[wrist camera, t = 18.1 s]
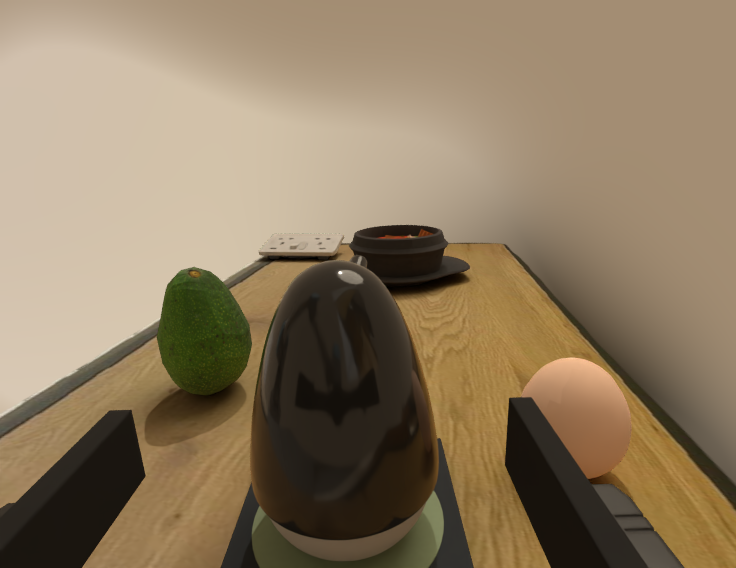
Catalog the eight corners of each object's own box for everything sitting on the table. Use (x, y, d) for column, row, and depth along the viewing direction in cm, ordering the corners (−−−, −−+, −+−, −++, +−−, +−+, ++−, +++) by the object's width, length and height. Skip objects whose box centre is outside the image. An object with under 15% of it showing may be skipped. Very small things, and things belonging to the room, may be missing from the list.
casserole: (445, 261, 88) (445, 219, 85) (489, 285, 70) (491, 234, 68) (322, 272, 83) (319, 228, 80) (336, 301, 65) (333, 246, 63)
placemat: (192, 656, 19) (190, 646, 19) (266, 448, 32) (265, 441, 32) (492, 649, 19) (492, 639, 18) (440, 443, 32) (440, 436, 32)
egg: (645, 479, 28) (664, 368, 26) (578, 523, 25) (593, 400, 23) (557, 427, 33) (566, 332, 31) (493, 457, 30) (499, 354, 28)
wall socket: (346, 243, 103) (344, 227, 101) (342, 268, 89) (340, 249, 88) (269, 250, 104) (266, 234, 102) (255, 275, 90) (251, 257, 88)
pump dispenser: (442, 464, 29) (445, 241, 25) (430, 620, 19) (433, 296, 15) (299, 448, 31) (279, 240, 27) (224, 581, 21) (175, 288, 17)
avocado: (152, 414, 37) (125, 280, 34) (189, 371, 45) (170, 258, 41) (244, 412, 37) (226, 277, 34) (265, 369, 45) (253, 255, 41)
